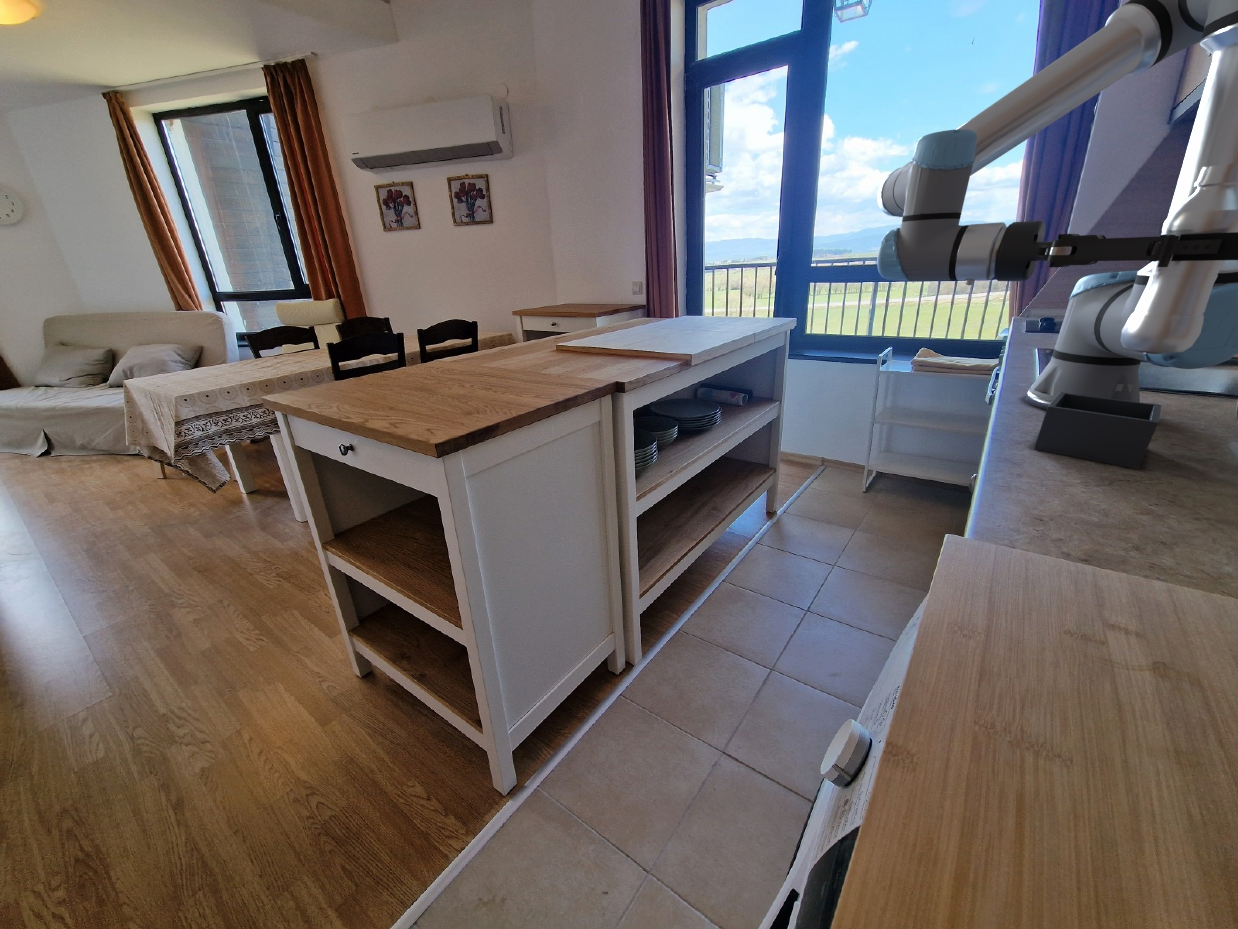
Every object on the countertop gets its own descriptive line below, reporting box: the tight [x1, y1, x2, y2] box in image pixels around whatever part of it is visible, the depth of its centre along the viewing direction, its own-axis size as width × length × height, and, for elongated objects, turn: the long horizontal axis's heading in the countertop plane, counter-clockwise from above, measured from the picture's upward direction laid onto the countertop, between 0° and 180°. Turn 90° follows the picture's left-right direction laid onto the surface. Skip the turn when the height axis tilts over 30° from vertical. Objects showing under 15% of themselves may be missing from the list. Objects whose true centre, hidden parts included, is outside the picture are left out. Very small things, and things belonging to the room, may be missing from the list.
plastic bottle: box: [1120, 163, 1238, 354], centre depth 56 cm, size 6×7×20 cm
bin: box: [1033, 392, 1162, 470], centre depth 69 cm, size 11×11×6 cm
